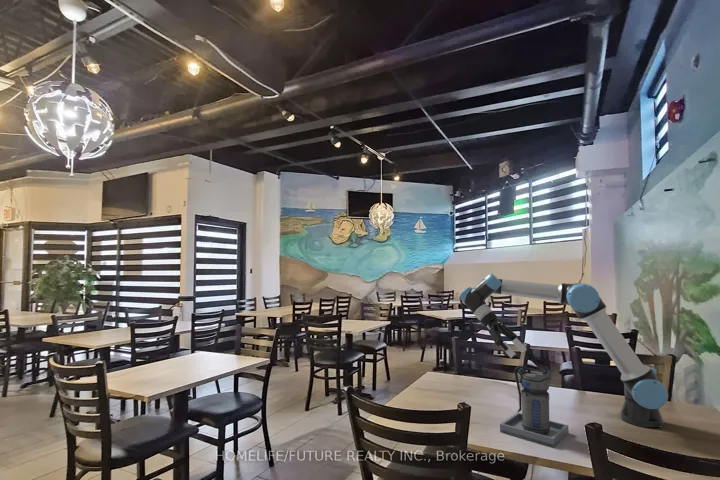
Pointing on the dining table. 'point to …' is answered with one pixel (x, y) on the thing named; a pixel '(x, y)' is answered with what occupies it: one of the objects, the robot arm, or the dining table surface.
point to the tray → (516, 429)
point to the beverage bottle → (534, 398)
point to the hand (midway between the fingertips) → (519, 353)
